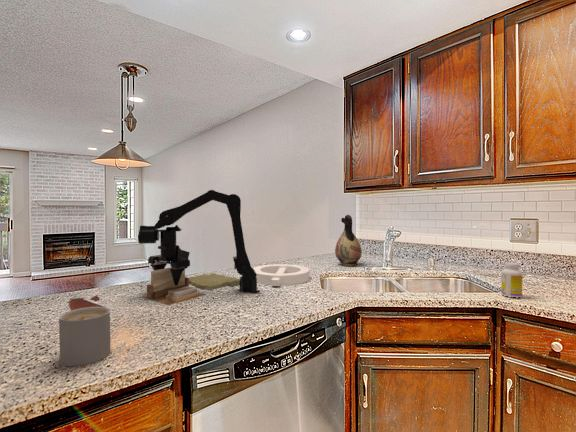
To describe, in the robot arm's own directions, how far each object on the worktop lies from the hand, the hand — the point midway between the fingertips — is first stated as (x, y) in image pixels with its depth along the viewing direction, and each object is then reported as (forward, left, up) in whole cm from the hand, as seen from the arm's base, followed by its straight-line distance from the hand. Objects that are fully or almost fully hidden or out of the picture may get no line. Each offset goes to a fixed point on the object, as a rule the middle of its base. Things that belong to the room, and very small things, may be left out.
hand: (168, 283), depth 125 cm
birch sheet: (0, 0, -4) cm, 4 cm away
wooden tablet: (+11, +24, -6) cm, 27 cm away
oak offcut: (-8, 0, -4) cm, 9 cm away
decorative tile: (+1, -22, -6) cm, 23 cm away
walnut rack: (-4, 0, -5) cm, 6 cm away
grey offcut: (-8, 0, -2) cm, 9 cm away
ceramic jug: (-28, -102, -5) cm, 106 cm away
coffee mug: (-26, +40, -5) cm, 48 cm away
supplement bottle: (-108, -77, -5) cm, 132 cm away
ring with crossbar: (-16, -50, -6) cm, 53 cm away
